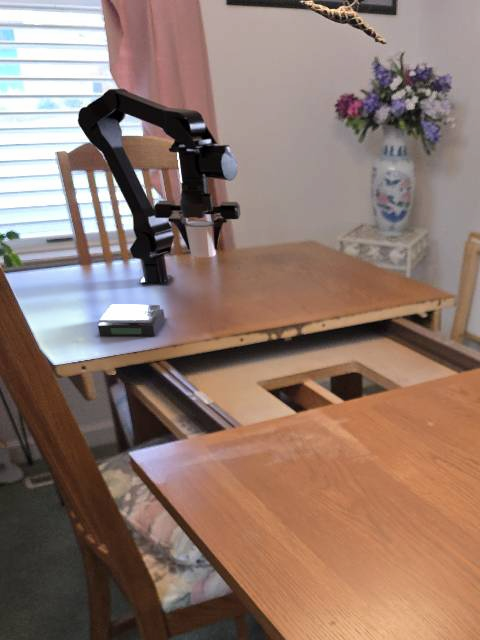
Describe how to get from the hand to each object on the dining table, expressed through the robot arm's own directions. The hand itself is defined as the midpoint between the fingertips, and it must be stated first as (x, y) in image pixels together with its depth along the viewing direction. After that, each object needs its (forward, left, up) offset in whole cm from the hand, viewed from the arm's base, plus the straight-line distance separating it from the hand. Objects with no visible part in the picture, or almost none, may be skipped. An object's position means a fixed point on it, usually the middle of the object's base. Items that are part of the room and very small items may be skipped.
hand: (202, 249), depth 167 cm
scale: (+27, -12, -10) cm, 31 cm away
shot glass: (0, 0, -1) cm, 1 cm away
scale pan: (+27, -12, -7) cm, 31 cm away
